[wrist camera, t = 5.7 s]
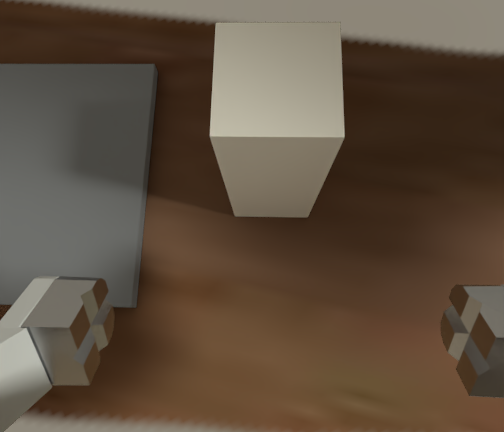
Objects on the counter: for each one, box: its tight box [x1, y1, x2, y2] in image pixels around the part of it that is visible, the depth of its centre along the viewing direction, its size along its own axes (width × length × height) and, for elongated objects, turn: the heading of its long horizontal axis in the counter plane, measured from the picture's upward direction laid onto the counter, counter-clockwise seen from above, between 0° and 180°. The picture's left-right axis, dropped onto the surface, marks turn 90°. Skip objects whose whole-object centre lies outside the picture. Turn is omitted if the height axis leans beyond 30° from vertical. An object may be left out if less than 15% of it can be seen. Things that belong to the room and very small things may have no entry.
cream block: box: [210, 22, 345, 218], centre depth 17 cm, size 4×4×10 cm
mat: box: [0, 64, 158, 308], centre depth 22 cm, size 12×14×1 cm
